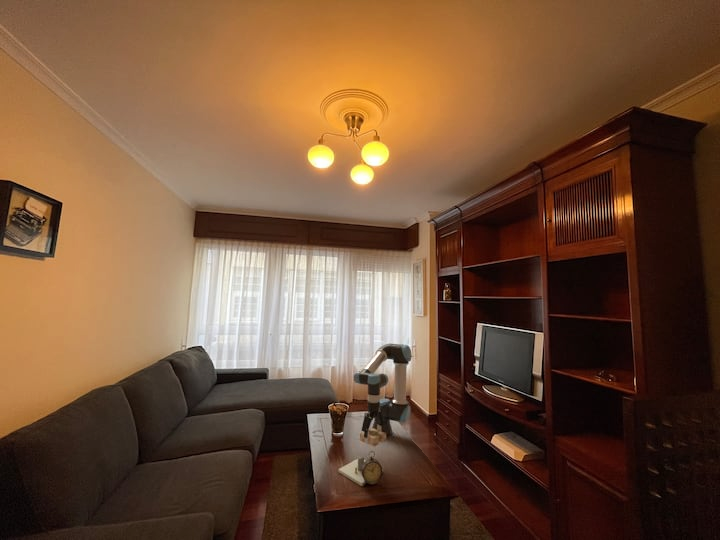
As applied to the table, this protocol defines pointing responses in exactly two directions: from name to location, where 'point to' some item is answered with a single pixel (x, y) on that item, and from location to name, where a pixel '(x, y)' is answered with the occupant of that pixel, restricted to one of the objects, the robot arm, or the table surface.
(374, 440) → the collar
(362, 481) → the post board
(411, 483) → the table surface
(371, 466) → the alarm clock
